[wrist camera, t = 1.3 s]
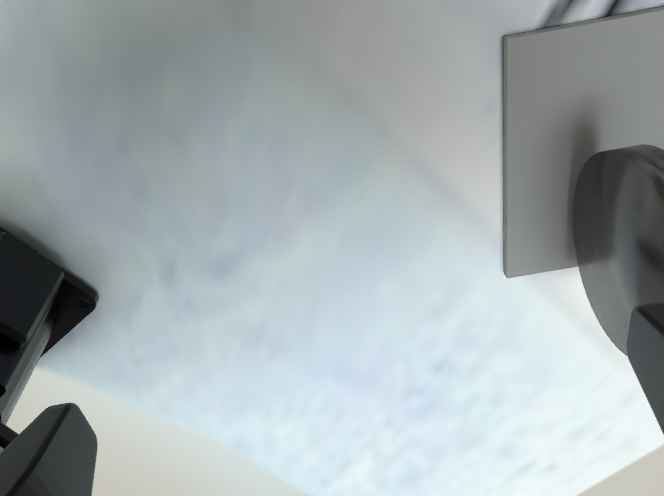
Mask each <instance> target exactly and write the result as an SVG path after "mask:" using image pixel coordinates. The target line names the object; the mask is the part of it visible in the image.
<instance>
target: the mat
mask: <svg viewBox="0 0 664 496" xmlns="http://www.w3.org/2000/svg"><path fill="white" fill-rule="evenodd" d="M642 144H647V145H653V146H655V147H658V148H661V149H662V150H664V6H663V7H658V8H652V9H647V10H641V11H636V12H631V13H625V14H620V15H615V16H609V17H604V18H599V19H593V20H588V21H583V22H577V23H572V24H567V25H561V26H556V27H551V28H545V29H540V30H535V31H529V32H524V33H519V34H513V35H508V36H504V274H505V276H506V277H507V278H512V277H518V276H524V275H530V274H536V273H541V272H547V271H553V270H559V269H565V268H571V267H576V266H578V262H577V257H576V252H575V245H574V236H573V201H574V193H575V188H576V184H577V180H578V177H579V174H580V172H581V170H582V168H583V166H584V164H585V163H586V162H587V160H588V159H589V158H590V157H591V156H593V155H594V154H596V153H598V152H601V151H607V150H612V149H618V148H623V147H629V146H635V145H642Z"/></svg>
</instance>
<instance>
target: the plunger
mask: <svg viewBox="0 0 664 496" xmlns="http://www.w3.org/2000/svg"><path fill="white" fill-rule="evenodd" d="M573 236H574V245H575V252H576V257H577V262H578V267H579V271H580V275H581V279H582V282H583V285H584V288H585V291H586V294H587V297H588V299H589V302H590V304H591V307H592V309H593V311H594V313H595V315H596V317H597V319H598V321H599V323H600V325H601V326H602V328H603V330H604V331H605V333H606V334H607V336H608V337H609V338H610V340H611V341H612V342H613V343H614V344H615V346H616V347H617V348H618V349H619V350H620V351H622V352H623V353H624V354H625V355H627V352H626V339H627V333H628V326H629V319H630V314H631V311H632V309H633V308H634V307H636V306H638V305H644V304H650V303H656V302H658V303H664V150H662V149H661V148H658V147H655V146H653V145H647V144H642V145H635V146H629V147H623V148H618V149H612V150H607V151H601V152H598V153H596V154H594V155H593V156H591V157H590V158H589V159H588V160H587V162H586V163H585V164H584V166H583V168H582V170H581V172H580V174H579V177H578V180H577V184H576V188H575V193H574V201H573Z"/></svg>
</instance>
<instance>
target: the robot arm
mask: <svg viewBox="0 0 664 496" xmlns="http://www.w3.org/2000/svg"><path fill="white" fill-rule="evenodd" d="M80 298H84V299H87V300H88V301H89V302H85V301H82V300H81V299H80ZM98 300H99V297H98V295H97V293H96V292H95V291H94V290H92V289H91V288H89V287H88V286H86V285H85V284H83V283H82V282H80V281H79V280H77V279H76V278H74V277H73V276H72V275H70V274H69V273H67V272H66V271H64V270H63V269H61V268H60V267H58V266H57V265H55V264H54V263H52V262H51V261H49V260H48V259H46V258H45V257H43V256H42V255H40V254H39V253H37V252H36V251H35V250H33V249H32V248H30V247H29V246H27V245H26V244H24V243H23V242H21V241H20V240H18V239H17V238H15V237H14V236H12V235H11V234H9V233H8V232H6V231H5V230H3V229H2V228H0V496H91V495H92V487H93V479H94V471H95V463H96V455H97V438H96V435H95V433H94V431H93V430H92V428H91V426H90V425H89V423H88V421H87V420H86V418H85V416H84V415H83V413H82V412H81V410H80V408H79V407H78V406H77V405H76V404H74V403H65V404H59V405H54V406H50V407H48V408H46V409H45V410H44V411H43V412H42V413H41V414H40V415H39V416H38V417H37V418H36V419H35V420H34V421H33V422H32V423H31V424H30V425H29V426H28V427H27V428H26V429H25V430H23V431H22V432H21V433H20V434H18V433H16V432H15V431H13V430H12V429H11V428H9V427H8V426H6V423H7V421H8V419H9V417H10V415H11V413H12V411H13V409H14V407H15V405H16V403H17V401H18V399H19V397H20V395H21V393H22V391H23V390H24V388H25V386H26V384H27V382H28V380H29V378H30V376H31V374H32V372H33V370H34V368H35V366H36V364H37V362H38V360H39V358H40V357H41V356H42V355H44V354H45V353H46V352H47V351H48V350H49V349H50V348H51V347H53V346H54V345H55V344H56V343H57V342H58V341H59V340H60V339H62V338H63V337H64V336H65V335H66V334H67V333H68V332H69V331H71V330H72V329H73V328H74V327H75V326H76V325H77V324H78V323H80V322H81V321H82V320H83V319H84V318H85V317H86V316H88V315H89V314H90V313H91V312H92V311H93V310H94V309H95V307H96V305H97V303H98ZM626 352H627V356H628V359H629V361H630V363H631V365H632V367H633V370H634V372H635V374H636V376H637V378H638V380H639V382H640V385H641V387H642V389H643V391H644V393H645V395H646V397H647V400H648V402H649V404H650V406H651V408H652V410H653V413H654V415H655V417H656V419H657V421H658V423H659V425H660V428H661V430H662V432H663V434H664V303H658V302H656V303H650V304H644V305H638V306H636V307H634V308H633V309H632V311H631V314H630V319H629V326H628V333H627V339H626Z"/></svg>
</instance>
